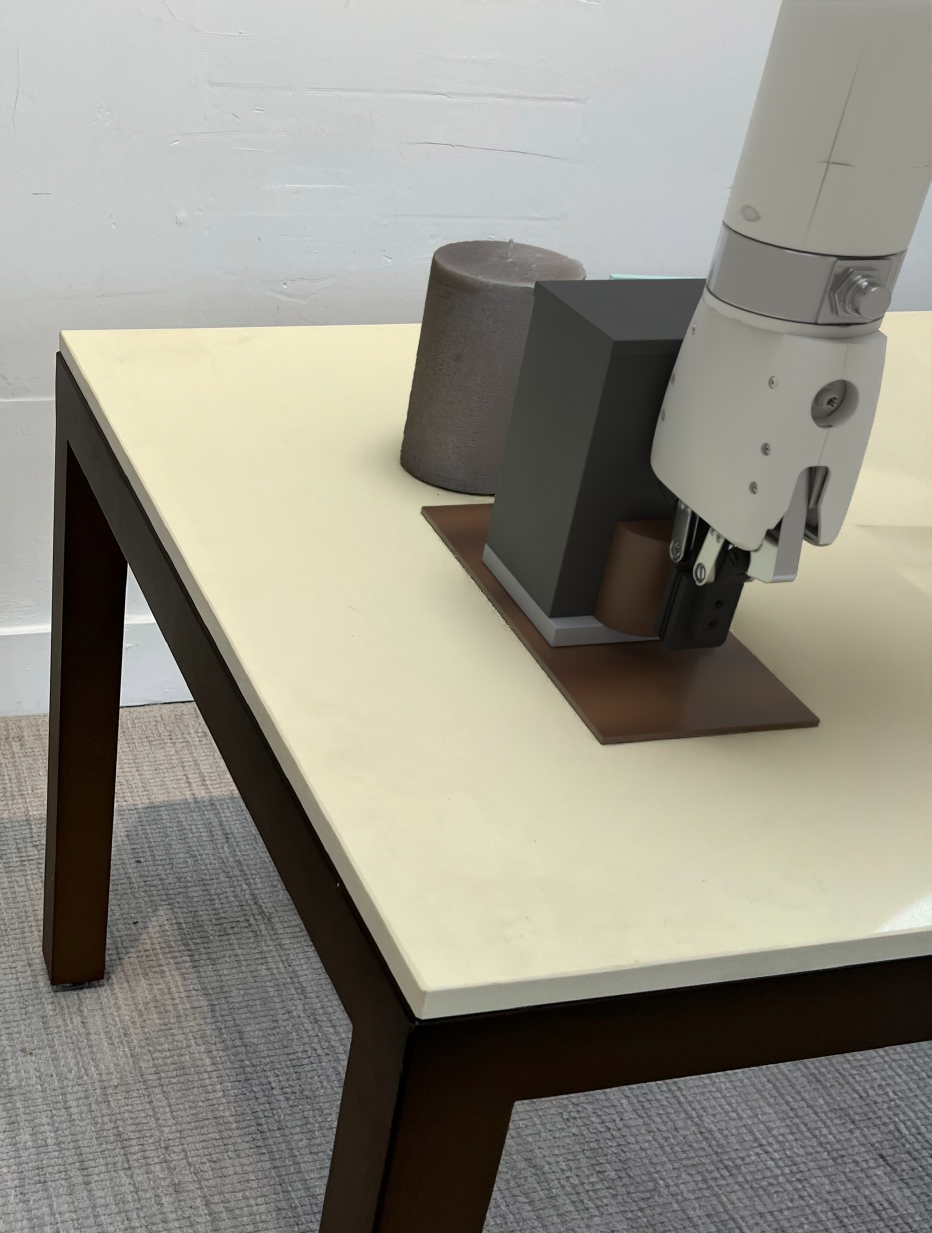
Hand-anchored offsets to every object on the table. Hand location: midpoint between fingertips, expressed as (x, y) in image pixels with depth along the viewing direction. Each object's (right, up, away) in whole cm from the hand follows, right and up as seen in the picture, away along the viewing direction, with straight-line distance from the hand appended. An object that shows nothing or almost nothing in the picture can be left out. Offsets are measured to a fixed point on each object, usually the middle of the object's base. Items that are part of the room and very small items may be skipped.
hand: (687, 639), depth 71 cm
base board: (-2, +3, +9) cm, 9 cm away
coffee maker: (-2, +3, +9) cm, 10 cm away
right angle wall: (+13, +22, +36) cm, 45 cm away
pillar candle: (-6, +14, +24) cm, 29 cm away
